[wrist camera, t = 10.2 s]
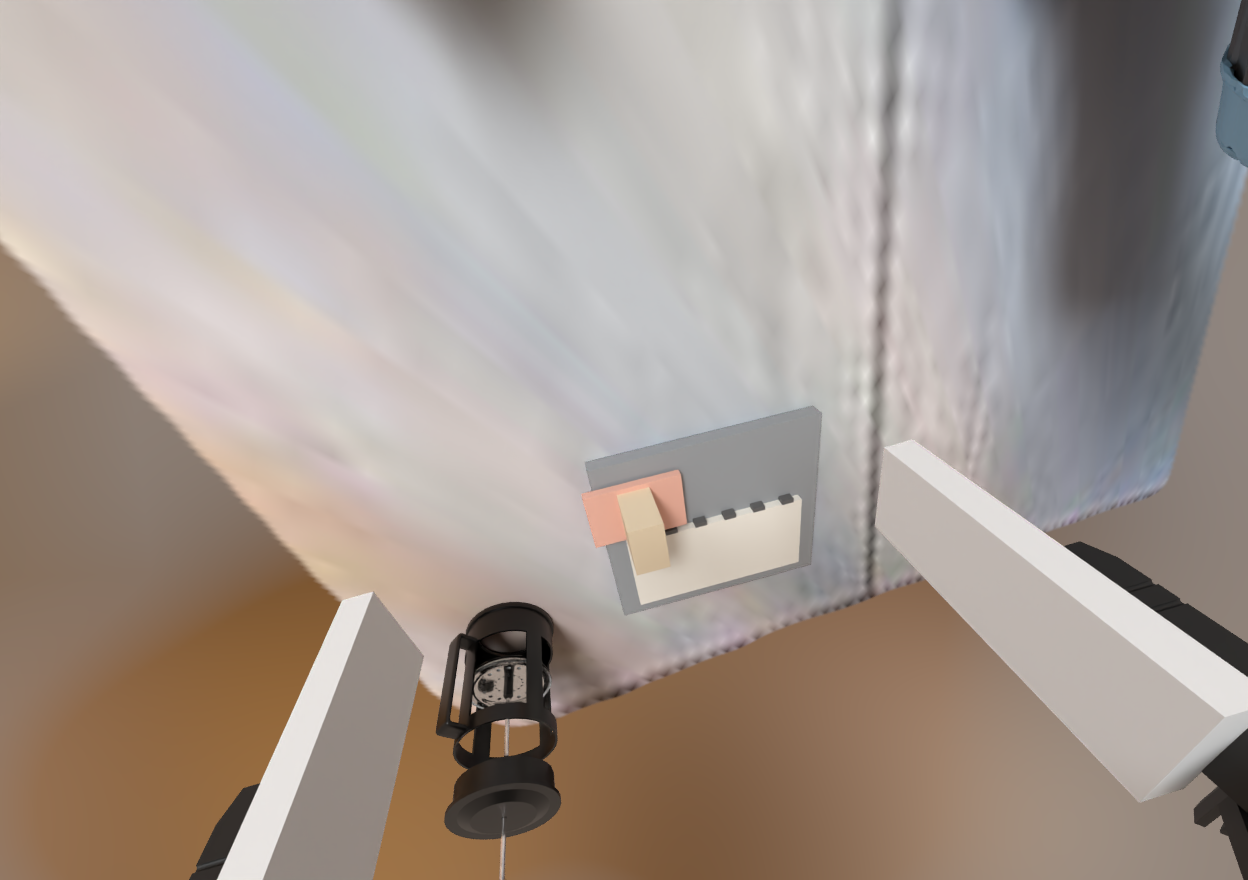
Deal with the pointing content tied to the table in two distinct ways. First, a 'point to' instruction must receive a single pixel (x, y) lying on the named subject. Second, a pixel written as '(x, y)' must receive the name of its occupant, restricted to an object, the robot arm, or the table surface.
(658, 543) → the stub
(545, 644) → the french press
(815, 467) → the board
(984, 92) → the table surface
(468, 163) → the table surface
